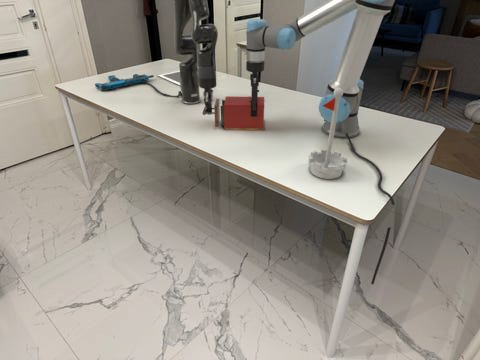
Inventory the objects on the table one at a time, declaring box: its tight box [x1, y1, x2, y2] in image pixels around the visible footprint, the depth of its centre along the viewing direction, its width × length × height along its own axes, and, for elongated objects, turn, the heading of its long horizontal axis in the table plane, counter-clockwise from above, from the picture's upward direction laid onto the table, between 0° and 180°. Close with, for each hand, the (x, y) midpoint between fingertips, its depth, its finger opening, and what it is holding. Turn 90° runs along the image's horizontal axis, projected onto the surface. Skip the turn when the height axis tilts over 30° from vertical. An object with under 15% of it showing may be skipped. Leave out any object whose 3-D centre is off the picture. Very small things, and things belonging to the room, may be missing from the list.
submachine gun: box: [94, 73, 155, 91], centre depth 208 cm, size 34×4×25 cm
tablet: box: [157, 70, 181, 87], centre depth 215 cm, size 32×20×1 cm, turn 41°
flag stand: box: [307, 88, 348, 180], centre depth 113 cm, size 13×13×30 cm
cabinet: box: [223, 96, 265, 131], centre depth 152 cm, size 17×11×11 cm, turn 87°
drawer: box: [201, 98, 225, 128], centre depth 153 cm, size 22×10×10 cm, turn 87°
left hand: (209, 113), depth 153 cm, fingers closed
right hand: (254, 111), depth 152 cm, fingers closed on cabinet, 11 cm apart
